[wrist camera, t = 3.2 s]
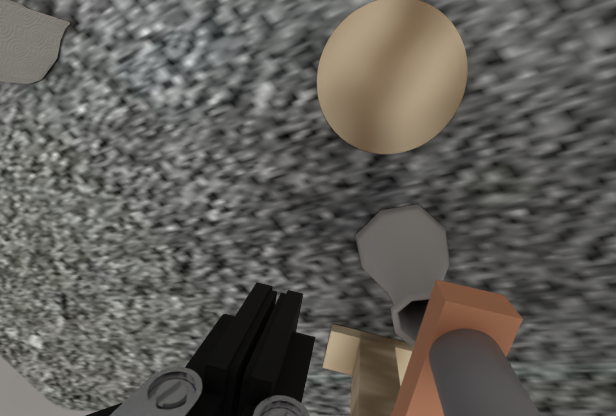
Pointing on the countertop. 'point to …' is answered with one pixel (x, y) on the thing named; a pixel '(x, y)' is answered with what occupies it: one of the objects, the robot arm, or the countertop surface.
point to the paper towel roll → (27, 42)
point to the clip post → (368, 368)
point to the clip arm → (464, 358)
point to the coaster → (392, 76)
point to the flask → (405, 262)
